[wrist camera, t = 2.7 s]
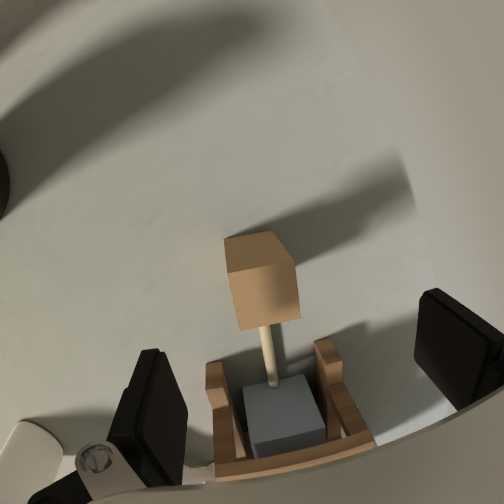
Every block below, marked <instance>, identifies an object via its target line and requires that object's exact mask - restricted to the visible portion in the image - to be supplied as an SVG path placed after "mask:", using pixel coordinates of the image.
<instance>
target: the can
mask: <svg viewBox="0 0 504 504" xmlns="http://www.w3.org/2000/svg"><path fill="white" fill-rule="evenodd" d="M62 457H63V449H62V447H61V445H60V443H59V442H58V440H57V439H56V438H55V437H54V436H53V435H52V434H51V433H49V432H48V431H47V430H45V429H44V428H42V427H41V426H39V425H37V424H34V423H32V422H28V421H21V422H18V423H17V424H16V425H15V427H14V428H13V430H12V432H11V434H10V435H9V437H8V439H7V441H6V443H5V445H4V447H3V449H2V450H1V452H0V504H27V503H28V500H29V499H30V497H31V496H32V495H33V494H35V493H36V492H38V491H40V490H42V489H43V488H45V487H47V486H49V485H51V484H53V483H54V480H55V477H56V474H57V471H58V468H59V465H60V462H61V459H62Z"/></svg>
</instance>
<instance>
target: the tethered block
mask: <svg viewBox="0 0 504 504" xmlns="http://www.w3.org/2000/svg"><path fill="white" fill-rule="evenodd" d="M224 246H225V255H226V264H227V273H228V278H229V283H230V288H231V292H232V297H233V302H234V306H235V311H236V316H237V320H238V325H239V329H240V331H241V330H247V329H252V328H257V327H258V328H259V334H260V339H261V344H262V350H263V355H264V360H265V366H266V371H267V376H268V382H265V383H260V384H255V385H250V386H245V387H242V389H243V396H244V403H245V410H246V417H247V424H248V430H249V437H250V443H251V447H252V450H253V453H254V456H255V459H259V458H264V457H270V456H275V455H280V454H284V453H289V452H293V451H297V450H302V449H306V448H310V447H313V446H317V445H321V444H324V443H326V427H325V424H324V422H323V419H322V417H321V415H320V412H319V410H318V407H317V405H316V402H315V400H314V397H313V395H312V393H311V390H310V388H309V385H308V383H307V380H306V378H305V375H304V374H301V375H297V376H292V377H288V378H284V379H279V378H278V372H277V366H276V359H275V353H274V347H273V341H272V335H271V329H270V325H271V324H276V323H281V322H285V321H290V320H294V319H299V318H301V314H300V305H299V296H298V287H297V279H296V271H295V263H294V259H293V258H292V257H291V255H290V254H289V253H288V251H287V250H286V249H285V248H284V246H283V245H282V244H281V242H280V241H279V240H278V238H277V237H276V236H275V235H274V233H273V232H272V231H271V230H269V231H263V232H258V233H253V234H247V235H242V236H237V237H232V238H226V239H224Z"/></svg>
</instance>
